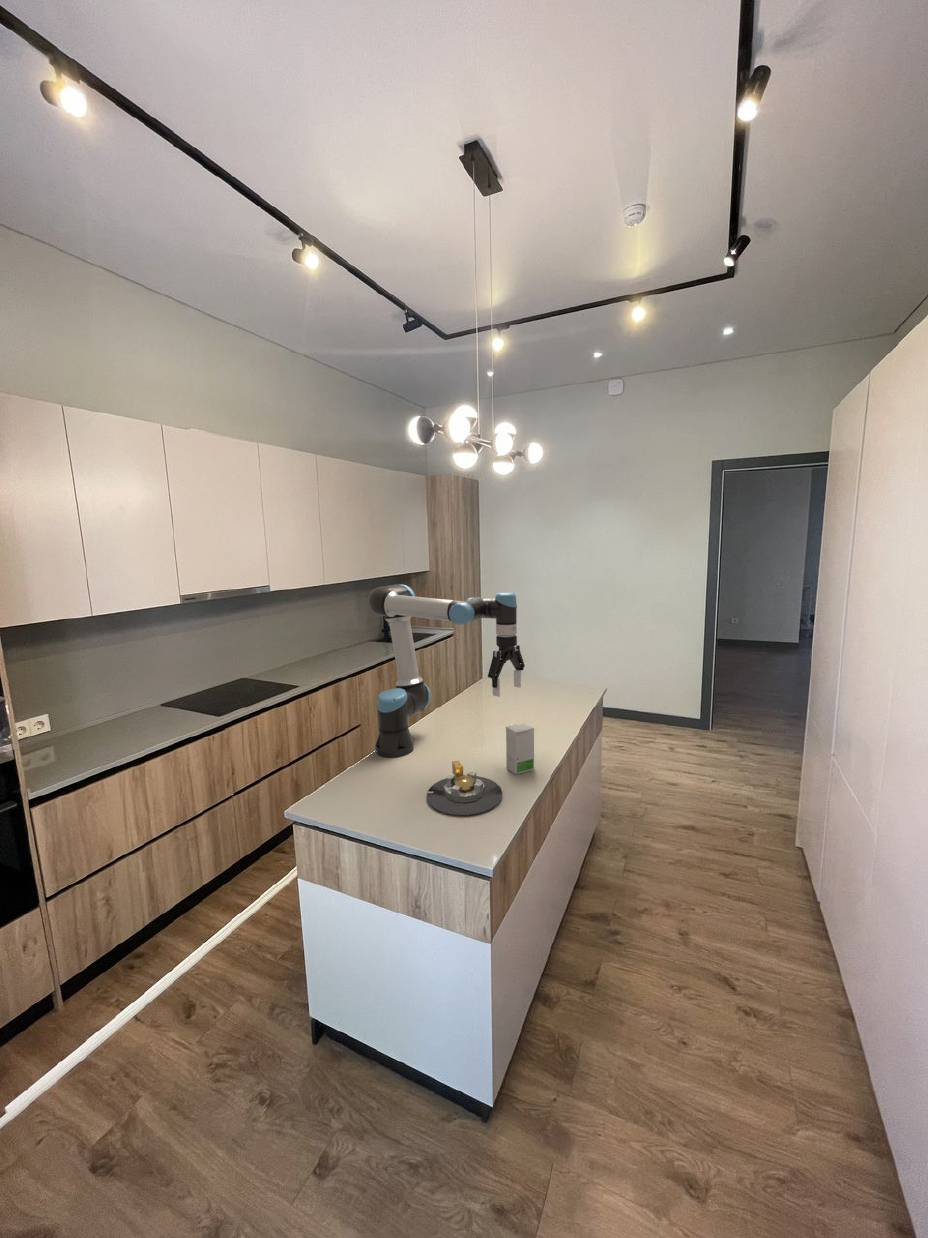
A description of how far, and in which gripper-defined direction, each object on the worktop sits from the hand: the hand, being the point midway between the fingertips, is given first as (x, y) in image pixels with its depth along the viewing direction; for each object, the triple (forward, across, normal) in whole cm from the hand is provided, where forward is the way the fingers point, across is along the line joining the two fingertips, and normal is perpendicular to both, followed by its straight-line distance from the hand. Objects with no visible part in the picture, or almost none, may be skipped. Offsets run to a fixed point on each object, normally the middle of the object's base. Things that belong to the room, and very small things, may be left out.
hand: (507, 691), depth 178 cm
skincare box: (+25, -7, -10) cm, 28 cm away
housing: (+25, -33, -6) cm, 42 cm away
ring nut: (+24, -32, -5) cm, 40 cm away
